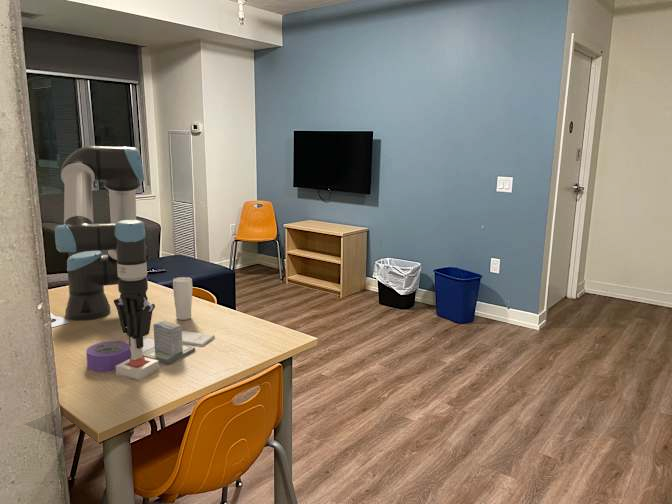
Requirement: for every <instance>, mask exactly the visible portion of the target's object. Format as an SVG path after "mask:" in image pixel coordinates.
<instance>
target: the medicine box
mask: <svg viewBox="0 0 672 504" xmlns="http://www.w3.org/2000/svg"><path fill="white" fill-rule="evenodd" d="M182 328H183V327H182V325H181V324H178V323H174V322H171V321H167V320H161V321H159V322H157V323H154V324H153V338H154V345H155V350H157V351H160V352H163V353H166V354H169V355H172V356H173V355H175V354H178V353H180V352H182V351H183V345H184V344H182V331H183V329H182Z"/></svg>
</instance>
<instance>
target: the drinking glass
mask: <svg viewBox="0 0 672 504" xmlns="http://www.w3.org/2000/svg"><path fill="white" fill-rule="evenodd" d="M172 291H173V298H174V307H175V317H176V319H177V320H179V321H187V320H189V319H191V317H192V304H193V302H192V300H193V279H192V278H191V277H188V276H186V277H185V276H182V277H181V276H180V277H176V278H173V279H172Z"/></svg>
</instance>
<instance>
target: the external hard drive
mask: <svg viewBox="0 0 672 504" xmlns="http://www.w3.org/2000/svg"><path fill="white" fill-rule="evenodd" d="M215 337H216V336H215V335H214V334H208V333H199V332H195V331H194V332H193V331H185V330H182V345H187V346H189V345H190V346H196V347H204V346H205V345H207V344H208V342H211V341H212V340H214V339H215Z"/></svg>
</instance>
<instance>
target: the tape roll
mask: <svg viewBox="0 0 672 504" xmlns="http://www.w3.org/2000/svg"><path fill="white" fill-rule="evenodd" d="M130 358H131V355H130V345H129V342H126V341H122V340H109V341H108V340H107V341H102V342H98V343H95V344H91V346H88V348H86V365H87V369H88V370H89V371H92V372H96V373H98V372H99V373H106V372H107V373H108V372H114V371H115V372H116V365H118V364H120V363H122V362H124V361H126V360H128V359H130Z"/></svg>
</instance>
